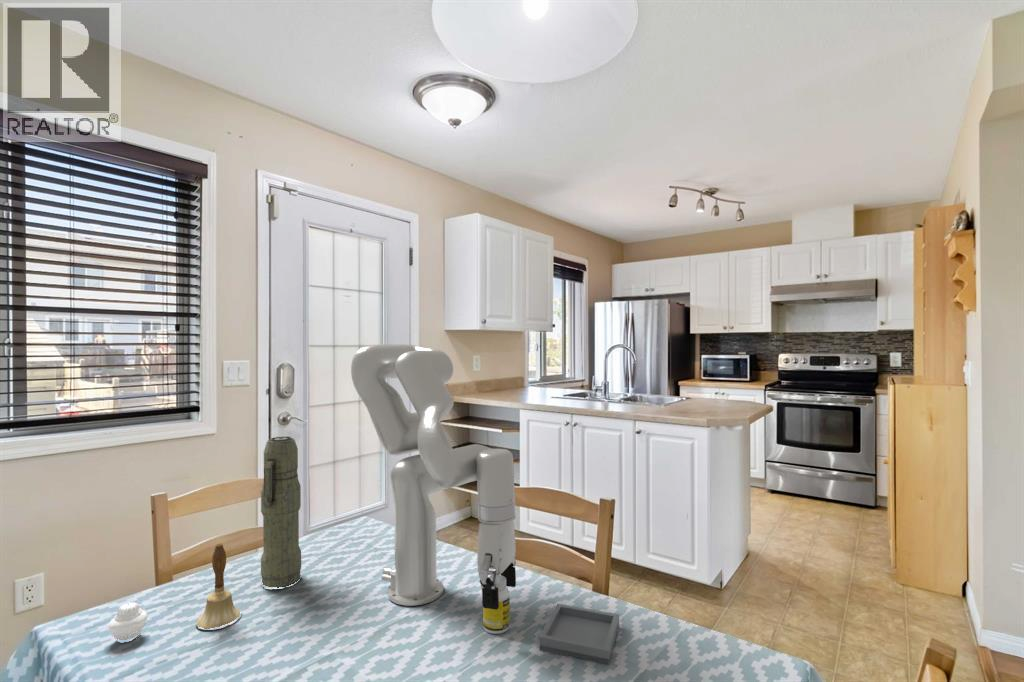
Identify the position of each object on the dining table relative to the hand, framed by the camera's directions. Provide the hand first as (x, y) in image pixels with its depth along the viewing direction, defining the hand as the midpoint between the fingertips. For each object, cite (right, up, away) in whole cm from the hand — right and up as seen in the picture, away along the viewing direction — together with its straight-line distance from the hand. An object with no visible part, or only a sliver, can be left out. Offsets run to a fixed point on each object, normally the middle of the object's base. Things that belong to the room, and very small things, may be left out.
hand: (500, 596), depth 102 cm
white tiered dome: (-73, -7, -3) cm, 74 cm away
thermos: (-54, -7, +21) cm, 58 cm away
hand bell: (-59, -7, +4) cm, 60 cm away
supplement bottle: (-1, -7, +1) cm, 7 cm away
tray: (+16, -6, -3) cm, 17 cm away
